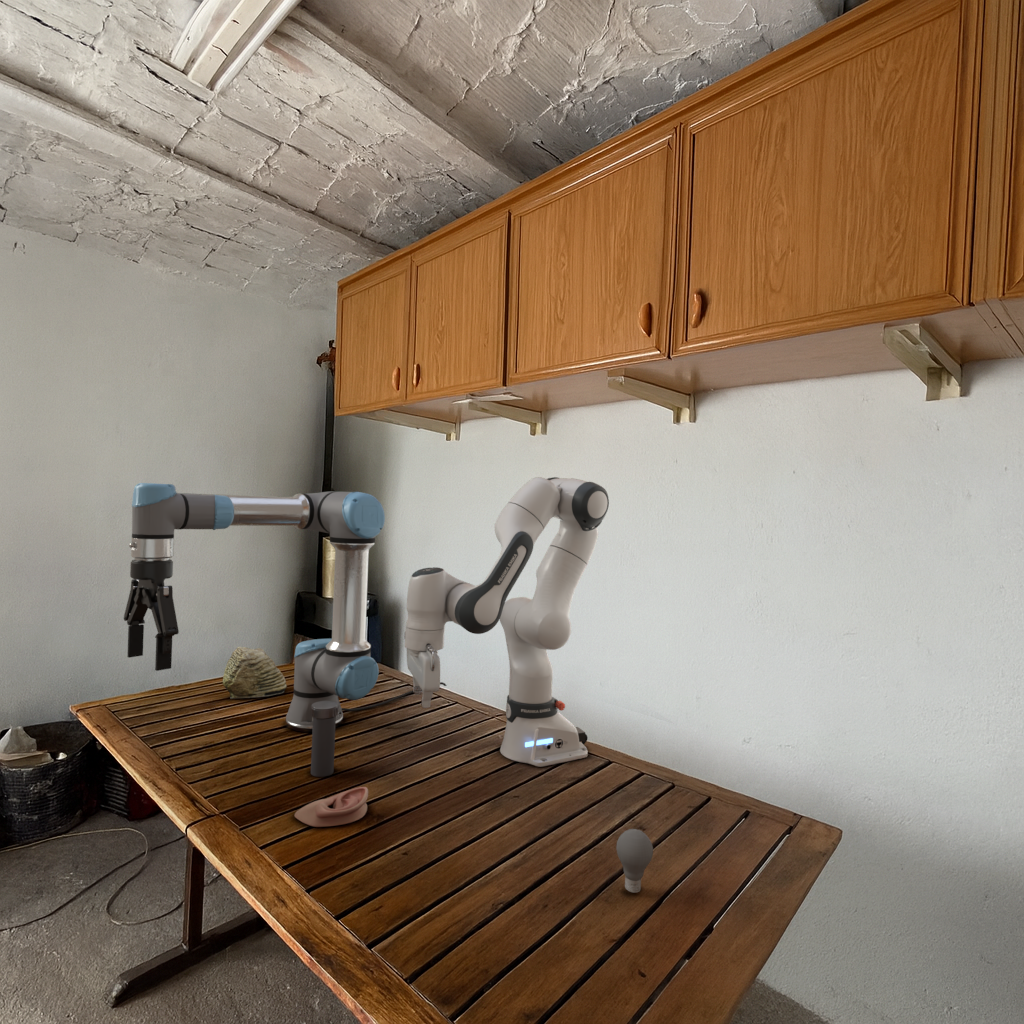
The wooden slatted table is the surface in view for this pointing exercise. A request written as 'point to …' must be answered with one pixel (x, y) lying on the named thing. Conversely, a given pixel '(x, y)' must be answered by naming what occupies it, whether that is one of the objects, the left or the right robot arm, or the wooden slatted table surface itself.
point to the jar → (323, 746)
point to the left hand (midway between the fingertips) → (148, 662)
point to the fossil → (252, 674)
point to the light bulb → (634, 857)
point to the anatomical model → (335, 809)
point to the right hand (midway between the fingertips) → (421, 700)
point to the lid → (324, 709)
